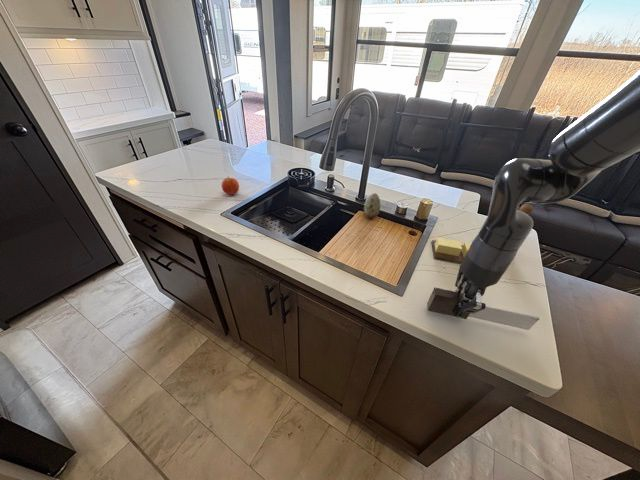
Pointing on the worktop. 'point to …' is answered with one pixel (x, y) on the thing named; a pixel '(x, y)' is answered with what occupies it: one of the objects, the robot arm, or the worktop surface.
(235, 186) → the fruit
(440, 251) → the butter stick
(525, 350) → the worktop surface
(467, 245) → the butter pat
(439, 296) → the knife
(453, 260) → the butter board
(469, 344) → the worktop surface
